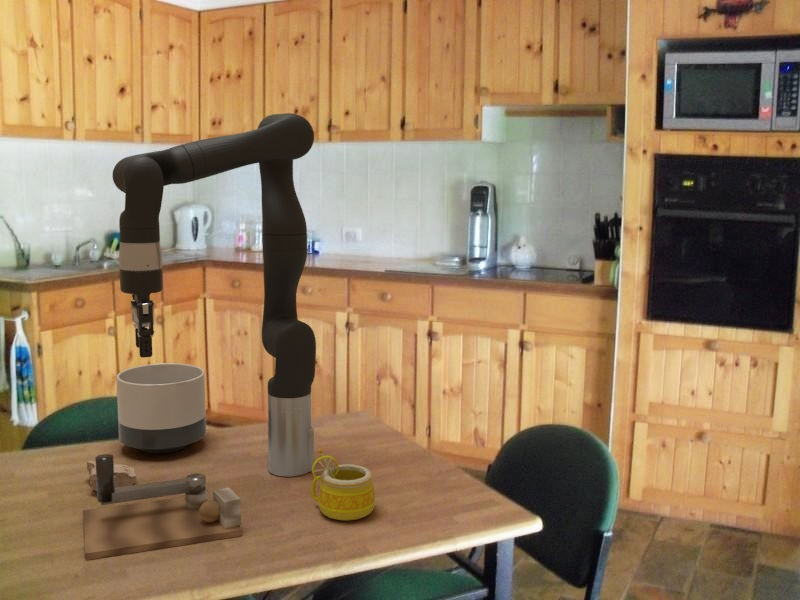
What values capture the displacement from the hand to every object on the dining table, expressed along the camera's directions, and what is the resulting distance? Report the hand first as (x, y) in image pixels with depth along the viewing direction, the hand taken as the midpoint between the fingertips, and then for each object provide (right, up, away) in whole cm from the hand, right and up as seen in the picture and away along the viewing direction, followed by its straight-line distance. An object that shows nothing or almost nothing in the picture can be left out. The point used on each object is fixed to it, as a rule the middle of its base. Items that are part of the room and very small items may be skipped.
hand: (143, 351), depth 152 cm
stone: (-12, -29, +13) cm, 33 cm away
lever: (+2, -26, -2) cm, 27 cm away
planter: (-7, -25, +36) cm, 44 cm away
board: (+5, -31, -5) cm, 32 cm away
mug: (+37, -31, +3) cm, 48 cm away
